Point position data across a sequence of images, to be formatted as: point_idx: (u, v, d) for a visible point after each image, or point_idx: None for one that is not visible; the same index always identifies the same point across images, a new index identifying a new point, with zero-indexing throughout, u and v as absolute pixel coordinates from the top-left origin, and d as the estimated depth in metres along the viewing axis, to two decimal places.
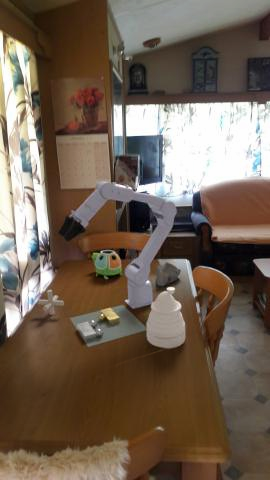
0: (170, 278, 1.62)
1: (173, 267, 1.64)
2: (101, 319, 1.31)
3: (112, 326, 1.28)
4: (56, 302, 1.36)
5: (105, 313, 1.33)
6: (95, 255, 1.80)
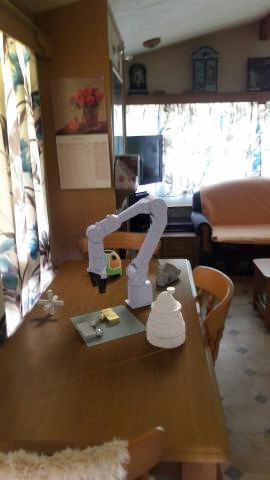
0: (170, 278, 1.62)
1: (173, 267, 1.64)
2: (101, 319, 1.31)
3: (112, 326, 1.28)
4: (56, 302, 1.36)
5: (105, 313, 1.33)
6: None
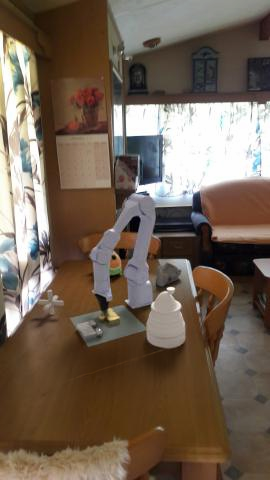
0: (170, 278, 1.62)
1: (173, 267, 1.64)
2: (101, 320, 1.30)
3: (112, 326, 1.28)
4: (56, 302, 1.36)
5: (105, 313, 1.33)
6: None
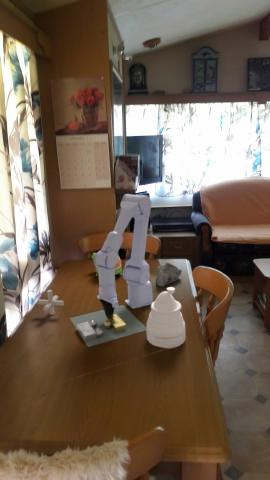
0: (170, 278, 1.62)
1: (174, 267, 1.64)
2: (107, 326, 1.25)
3: None
4: (56, 302, 1.36)
5: (111, 320, 1.28)
6: None
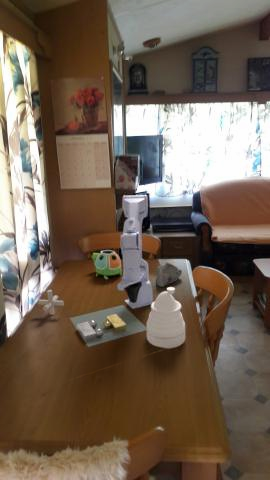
0: (170, 279, 1.61)
1: (174, 268, 1.63)
2: (107, 326, 1.25)
3: None
4: (56, 302, 1.36)
5: (111, 320, 1.28)
6: (95, 255, 1.80)
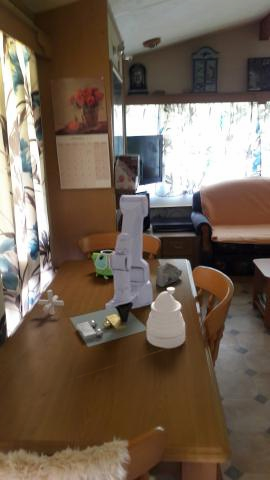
0: (170, 279, 1.61)
1: (174, 268, 1.63)
2: (107, 326, 1.25)
3: None
4: (56, 302, 1.36)
5: (111, 320, 1.28)
6: (95, 255, 1.80)
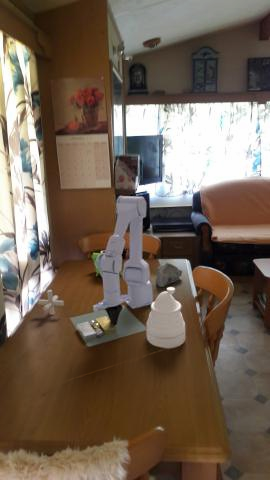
0: (170, 279, 1.61)
1: (174, 268, 1.63)
2: None
3: None
4: (56, 302, 1.36)
5: (100, 322, 1.27)
6: (95, 255, 1.80)
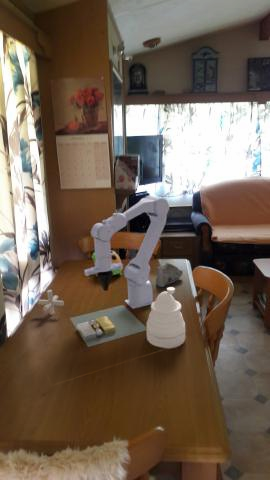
0: (171, 279, 1.61)
1: (174, 268, 1.63)
2: None
3: None
4: (56, 302, 1.36)
5: (100, 322, 1.27)
6: None
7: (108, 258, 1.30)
